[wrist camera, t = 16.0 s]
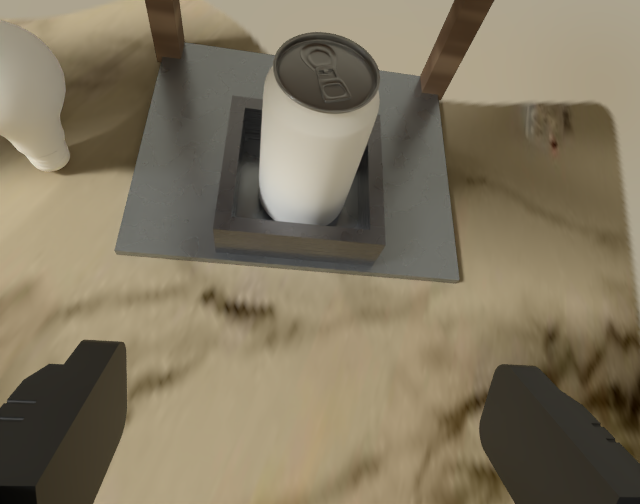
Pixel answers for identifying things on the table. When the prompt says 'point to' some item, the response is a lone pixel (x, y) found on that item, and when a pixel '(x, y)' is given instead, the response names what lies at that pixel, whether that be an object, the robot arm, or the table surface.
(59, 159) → the lightbulb
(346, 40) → the can
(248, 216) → the socket
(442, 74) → the wooden arch stand
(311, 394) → the table surface
